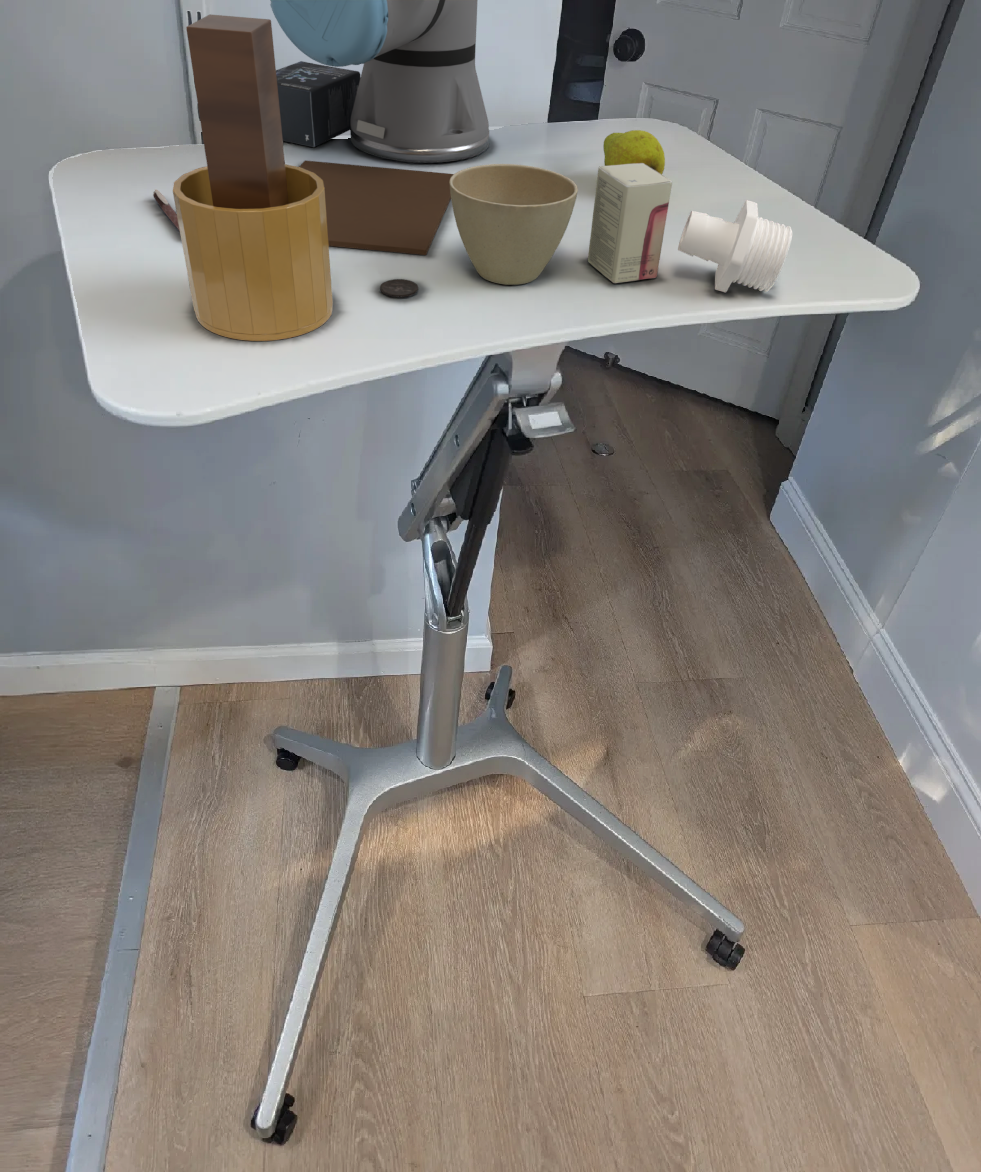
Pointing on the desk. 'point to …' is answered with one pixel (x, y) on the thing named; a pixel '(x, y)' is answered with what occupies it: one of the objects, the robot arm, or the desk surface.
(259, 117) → the block
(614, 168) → the small box
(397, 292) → the coin
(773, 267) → the pipe fitting
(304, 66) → the box
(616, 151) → the fruit
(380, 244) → the mat
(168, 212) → the pen
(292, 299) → the wooden pot
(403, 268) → the desk surface
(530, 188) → the bowl
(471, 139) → the robot arm
